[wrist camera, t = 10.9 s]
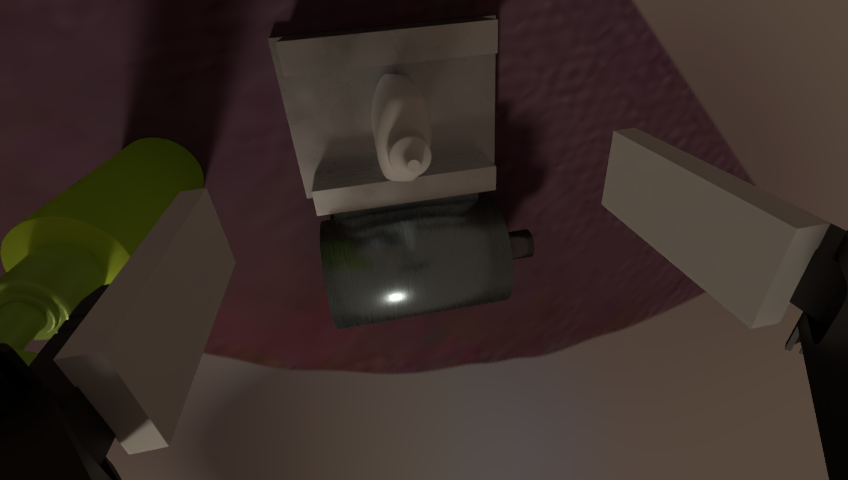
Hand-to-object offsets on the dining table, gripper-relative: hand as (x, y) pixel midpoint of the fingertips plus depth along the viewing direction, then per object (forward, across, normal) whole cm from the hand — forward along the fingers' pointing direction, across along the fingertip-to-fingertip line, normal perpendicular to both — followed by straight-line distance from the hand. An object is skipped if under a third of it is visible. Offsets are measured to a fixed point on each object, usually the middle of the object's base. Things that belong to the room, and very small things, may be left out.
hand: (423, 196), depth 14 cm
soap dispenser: (+21, -17, -6) cm, 28 cm away
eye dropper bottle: (+20, +1, -2) cm, 20 cm away
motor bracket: (+21, +2, -8) cm, 23 cm away
